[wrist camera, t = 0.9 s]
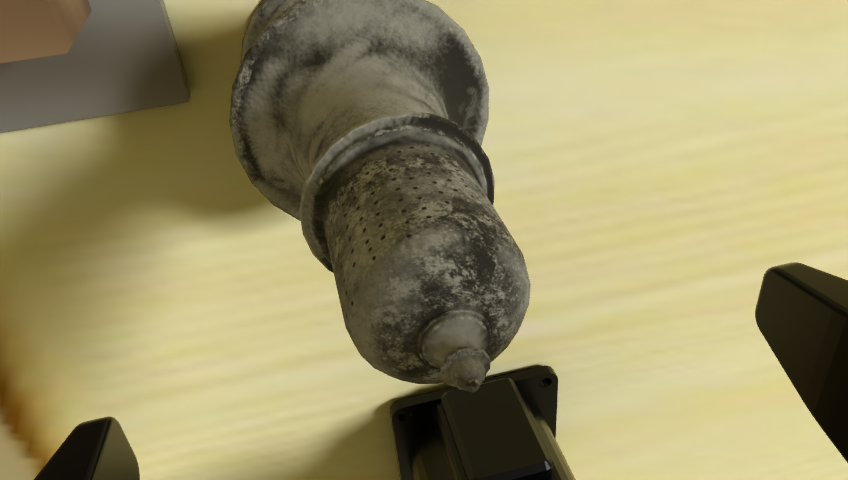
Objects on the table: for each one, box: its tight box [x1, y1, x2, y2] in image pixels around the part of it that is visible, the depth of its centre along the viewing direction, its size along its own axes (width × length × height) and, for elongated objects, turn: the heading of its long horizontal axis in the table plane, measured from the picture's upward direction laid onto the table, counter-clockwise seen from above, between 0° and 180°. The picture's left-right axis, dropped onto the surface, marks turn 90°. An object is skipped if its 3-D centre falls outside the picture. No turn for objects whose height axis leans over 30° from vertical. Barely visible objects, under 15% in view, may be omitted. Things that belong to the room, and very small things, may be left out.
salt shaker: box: [230, 0, 530, 392], centre depth 14 cm, size 6×6×12 cm
